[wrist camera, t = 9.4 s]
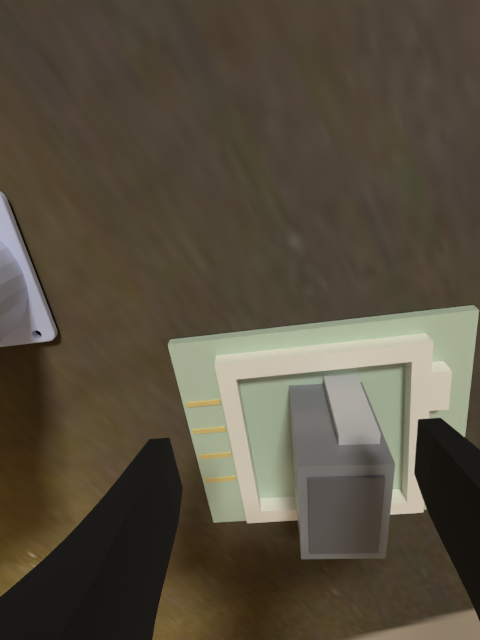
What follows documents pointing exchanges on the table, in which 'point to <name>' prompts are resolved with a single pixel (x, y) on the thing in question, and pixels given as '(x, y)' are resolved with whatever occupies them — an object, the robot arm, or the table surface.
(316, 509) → the plug
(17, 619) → the robot arm
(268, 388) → the board
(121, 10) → the table surface
